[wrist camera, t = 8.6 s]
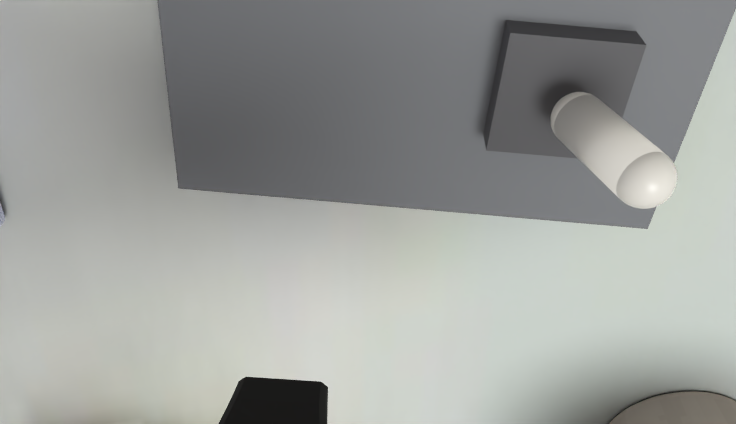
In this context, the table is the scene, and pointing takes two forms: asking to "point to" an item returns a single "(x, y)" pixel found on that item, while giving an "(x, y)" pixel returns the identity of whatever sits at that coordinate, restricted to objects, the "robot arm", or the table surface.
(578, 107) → the off-white toggle lever
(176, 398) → the table surface
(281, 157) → the control panel
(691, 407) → the coffee cup
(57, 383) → the table surface
